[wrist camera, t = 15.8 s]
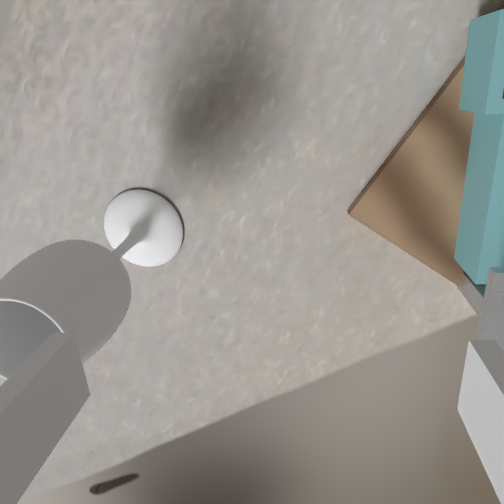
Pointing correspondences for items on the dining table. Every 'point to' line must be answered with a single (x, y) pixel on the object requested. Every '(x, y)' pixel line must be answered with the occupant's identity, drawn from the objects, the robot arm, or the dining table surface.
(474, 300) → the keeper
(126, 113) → the dining table surface
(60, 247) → the wineglass
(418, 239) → the board
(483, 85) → the link
